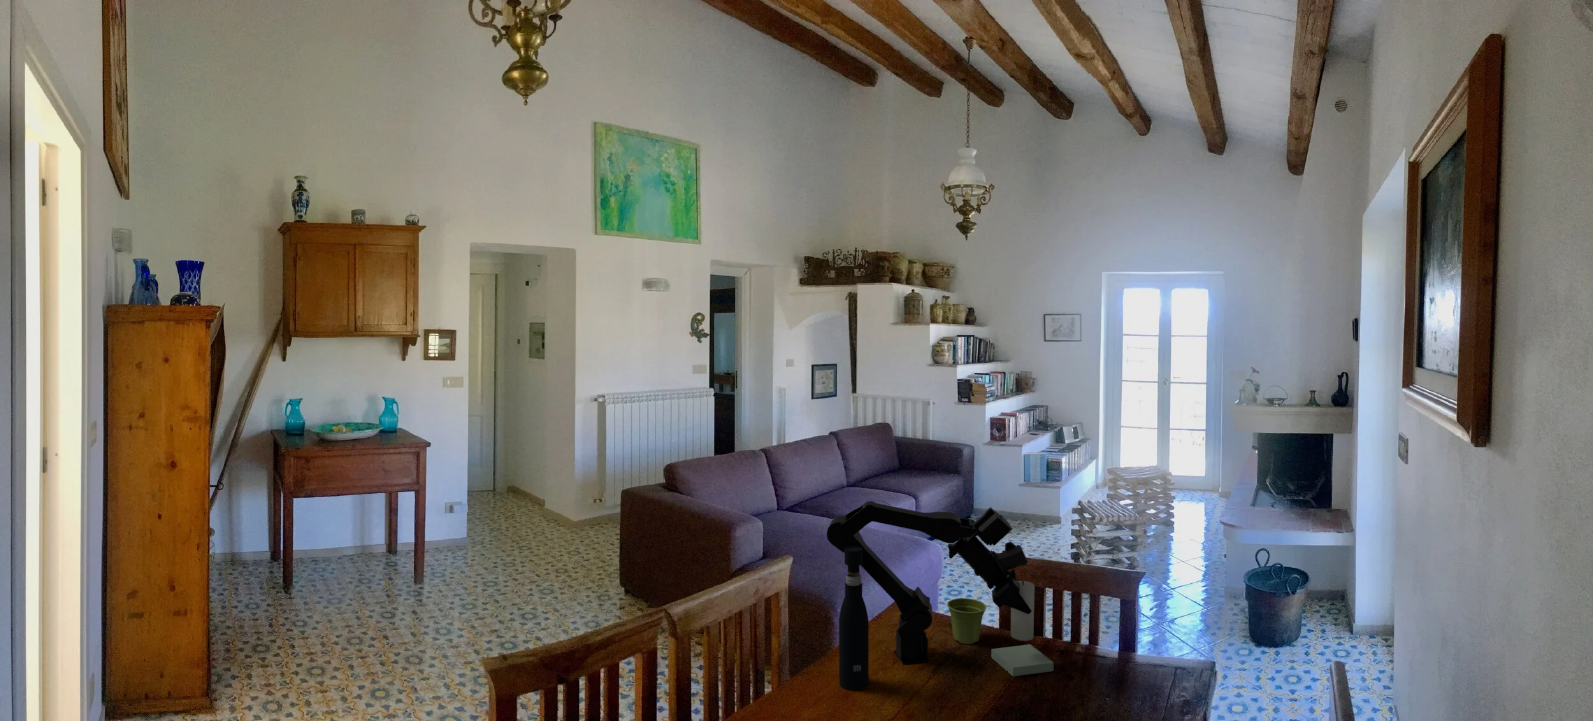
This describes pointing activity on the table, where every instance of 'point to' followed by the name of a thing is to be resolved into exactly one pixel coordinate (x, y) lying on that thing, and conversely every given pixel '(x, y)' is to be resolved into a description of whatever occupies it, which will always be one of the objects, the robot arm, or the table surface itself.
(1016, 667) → the stand
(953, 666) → the table surface
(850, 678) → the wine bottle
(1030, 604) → the candle
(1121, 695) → the table surface
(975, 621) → the plant pot
